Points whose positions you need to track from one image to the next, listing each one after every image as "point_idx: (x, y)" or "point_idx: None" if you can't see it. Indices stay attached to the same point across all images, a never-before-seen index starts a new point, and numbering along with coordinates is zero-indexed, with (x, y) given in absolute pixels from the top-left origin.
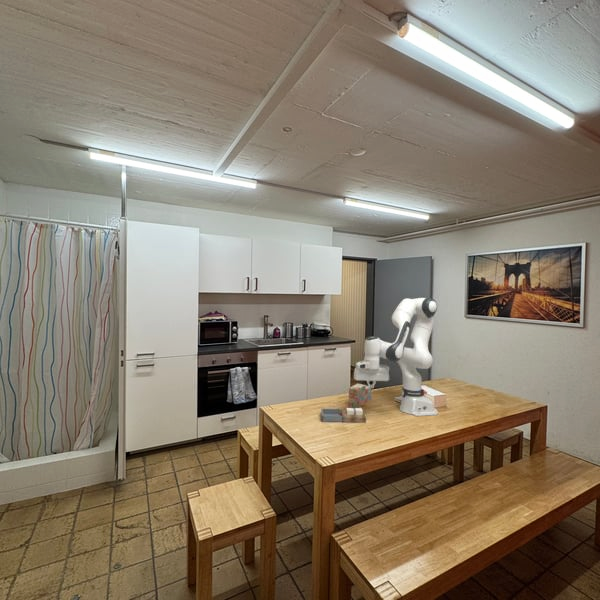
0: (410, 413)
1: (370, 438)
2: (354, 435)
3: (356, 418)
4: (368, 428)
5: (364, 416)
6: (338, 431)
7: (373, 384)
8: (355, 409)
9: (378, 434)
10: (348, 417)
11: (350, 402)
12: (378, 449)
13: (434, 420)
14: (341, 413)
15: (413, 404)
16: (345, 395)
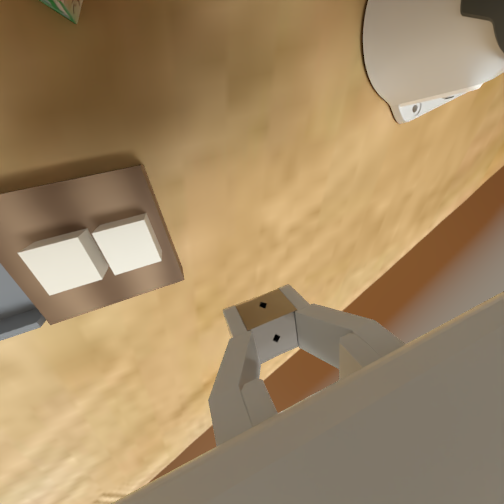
0: (389, 101)
1: (210, 369)
2: (153, 378)
3: (134, 294)
4: (198, 310)
5: (174, 267)
6: (78, 384)
7: (316, 354)
8: (106, 259)
9: None
10: (85, 312)
11: None
12: None
13: (435, 154)
14: (7, 267)
15: (448, 93)
16: None
